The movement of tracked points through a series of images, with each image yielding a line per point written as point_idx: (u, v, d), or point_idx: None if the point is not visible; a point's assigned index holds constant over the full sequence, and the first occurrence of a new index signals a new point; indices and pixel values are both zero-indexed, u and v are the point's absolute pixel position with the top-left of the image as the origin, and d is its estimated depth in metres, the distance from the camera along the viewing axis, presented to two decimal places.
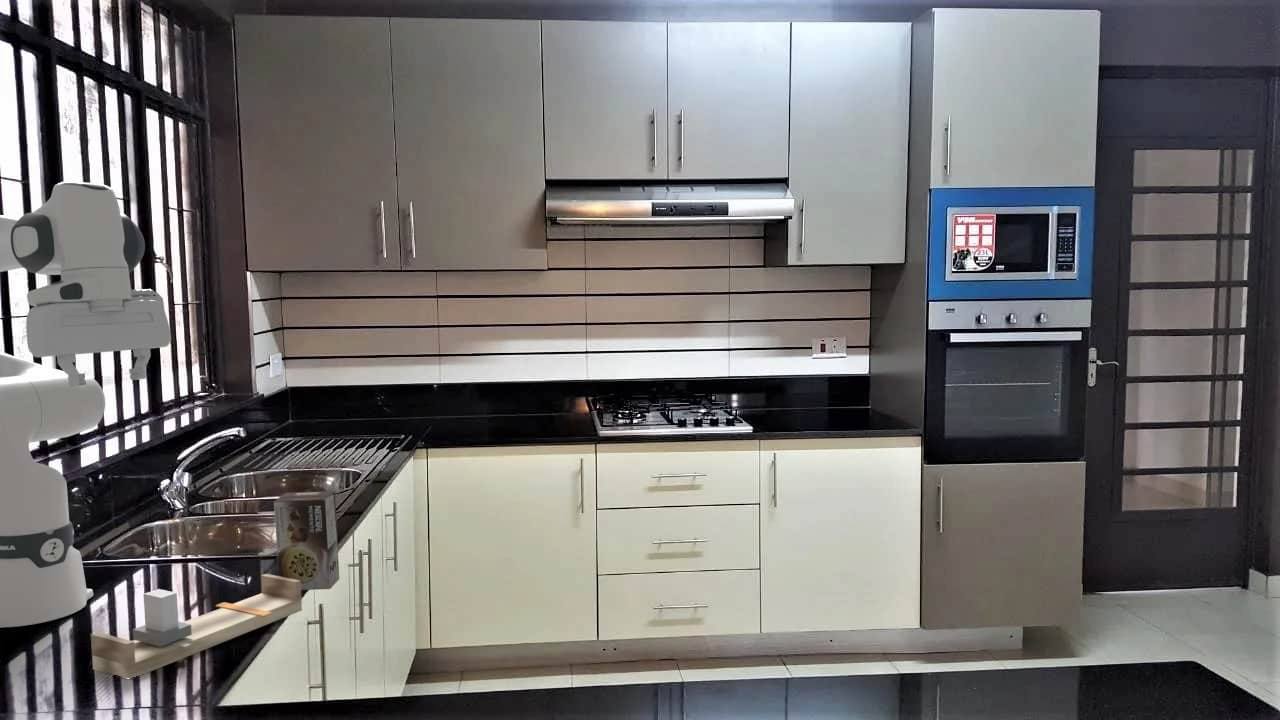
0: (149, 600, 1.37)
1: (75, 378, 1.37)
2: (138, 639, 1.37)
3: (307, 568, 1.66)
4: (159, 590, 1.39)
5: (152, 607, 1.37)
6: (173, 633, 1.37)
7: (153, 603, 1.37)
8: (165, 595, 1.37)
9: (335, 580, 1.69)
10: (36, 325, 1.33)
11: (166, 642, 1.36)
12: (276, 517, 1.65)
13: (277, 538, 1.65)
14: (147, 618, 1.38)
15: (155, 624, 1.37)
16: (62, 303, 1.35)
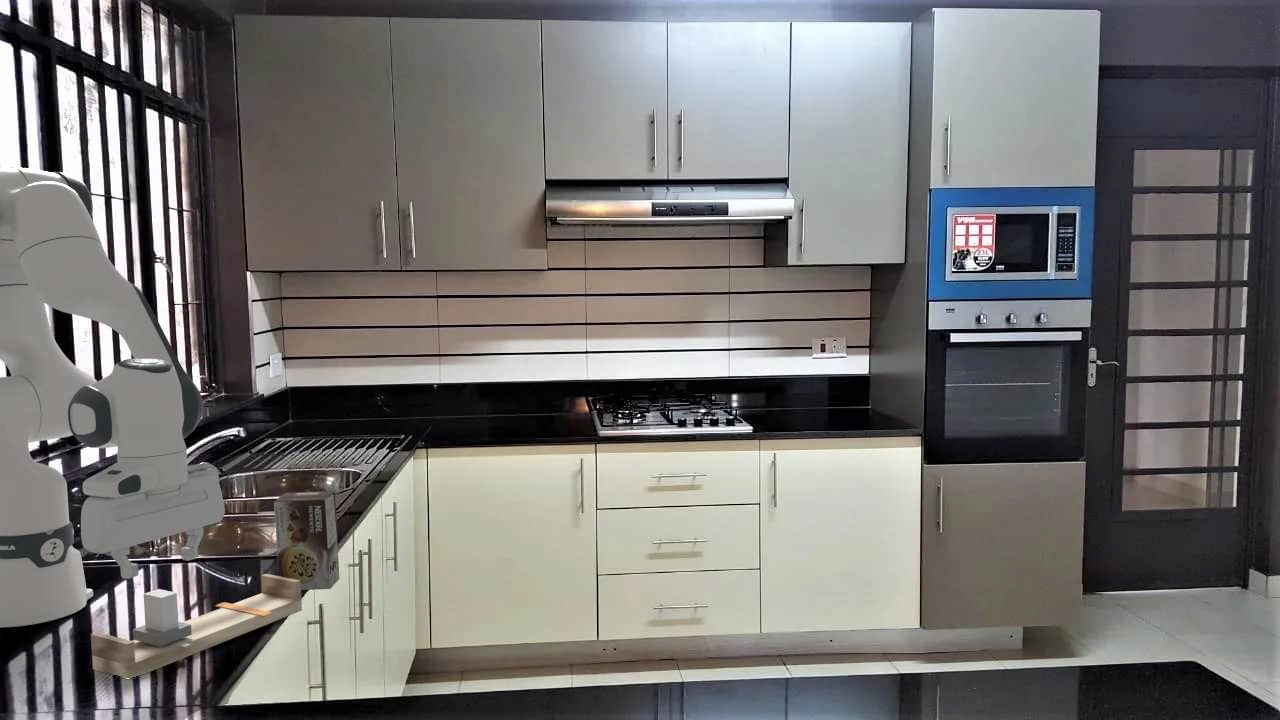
0: (149, 600, 1.37)
1: (128, 571, 1.32)
2: (138, 639, 1.37)
3: (307, 568, 1.66)
4: (159, 590, 1.39)
5: (152, 607, 1.37)
6: (173, 633, 1.37)
7: (153, 603, 1.37)
8: (165, 595, 1.37)
9: (335, 580, 1.69)
10: (92, 521, 1.28)
11: (166, 642, 1.36)
12: (276, 517, 1.65)
13: (277, 538, 1.65)
14: (147, 618, 1.38)
15: (155, 624, 1.37)
16: (119, 498, 1.29)
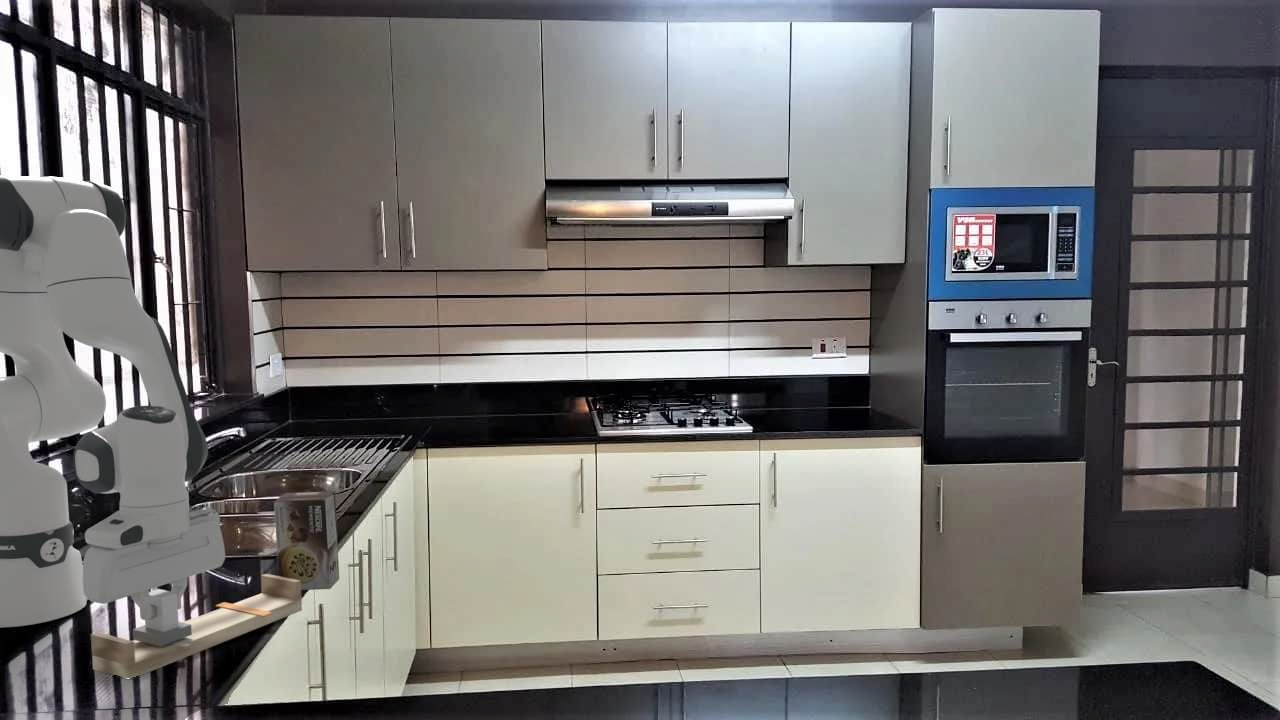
0: (150, 600, 1.37)
1: (147, 613, 1.35)
2: (138, 639, 1.37)
3: (307, 568, 1.66)
4: (159, 590, 1.39)
5: None
6: (173, 633, 1.37)
7: (153, 603, 1.37)
8: (165, 595, 1.37)
9: (335, 580, 1.69)
10: (94, 572, 1.29)
11: (166, 642, 1.36)
12: (276, 517, 1.65)
13: (277, 538, 1.65)
14: None
15: (155, 624, 1.37)
16: (121, 548, 1.30)
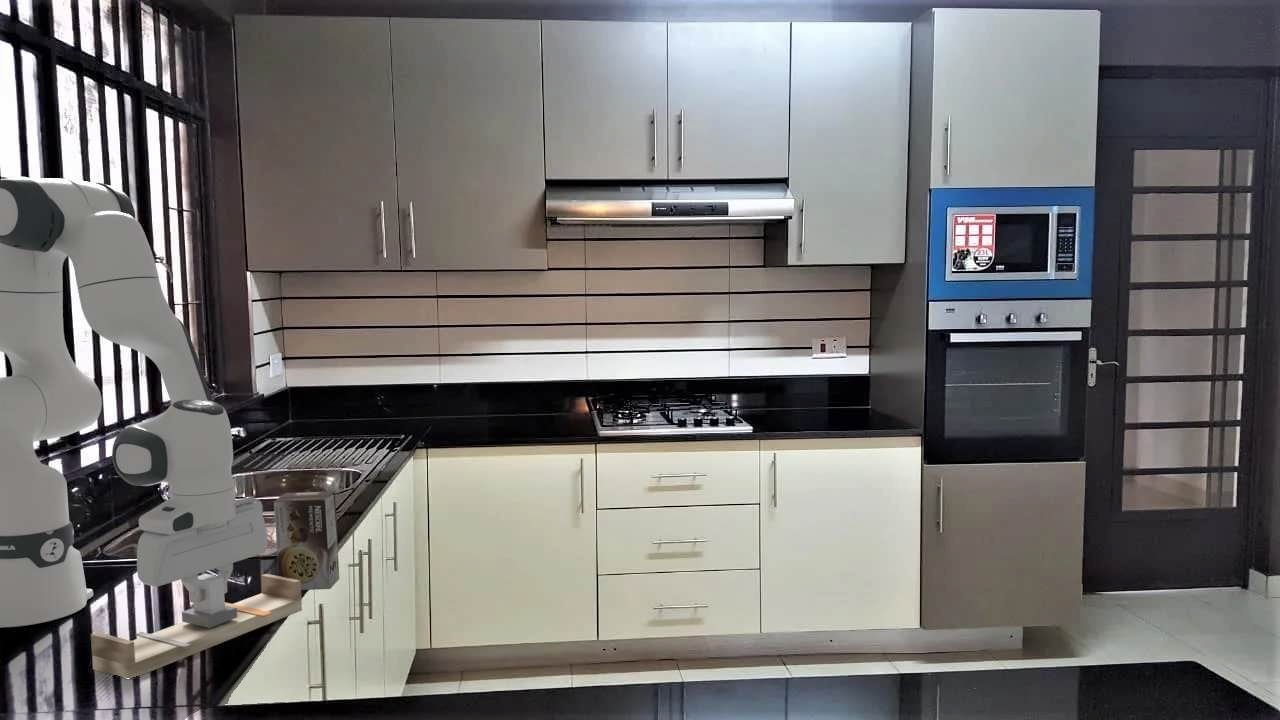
0: (198, 584, 1.44)
1: (196, 596, 1.42)
2: (187, 621, 1.44)
3: (307, 568, 1.66)
4: (206, 574, 1.46)
5: None
6: (220, 615, 1.44)
7: (202, 587, 1.44)
8: (212, 580, 1.44)
9: (335, 580, 1.69)
10: (148, 556, 1.36)
11: (214, 624, 1.43)
12: (276, 517, 1.65)
13: (277, 538, 1.65)
14: None
15: (203, 606, 1.44)
16: (173, 534, 1.37)
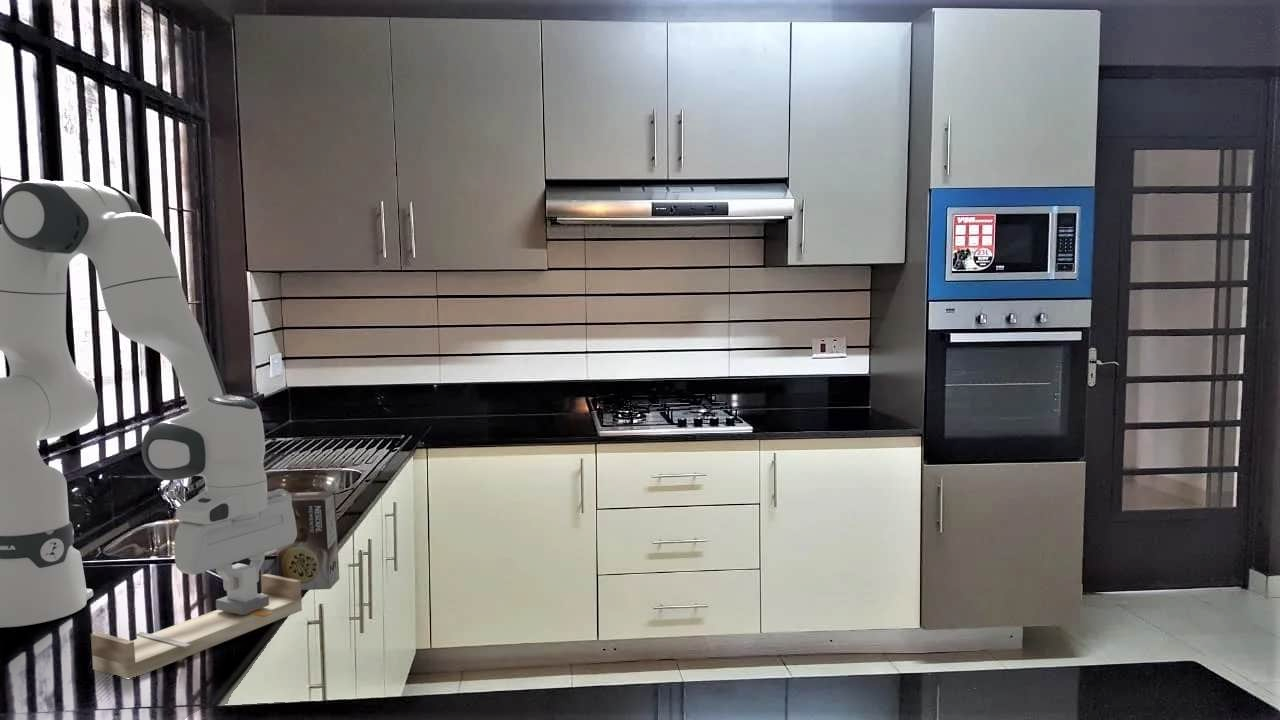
0: (231, 573, 1.49)
1: (230, 584, 1.48)
2: (221, 609, 1.49)
3: (307, 568, 1.66)
4: (239, 564, 1.52)
5: None
6: (253, 603, 1.49)
7: (235, 575, 1.49)
8: (246, 569, 1.49)
9: (335, 580, 1.69)
10: (186, 545, 1.41)
11: (247, 611, 1.48)
12: None
13: None
14: None
15: (236, 595, 1.49)
16: (210, 524, 1.42)
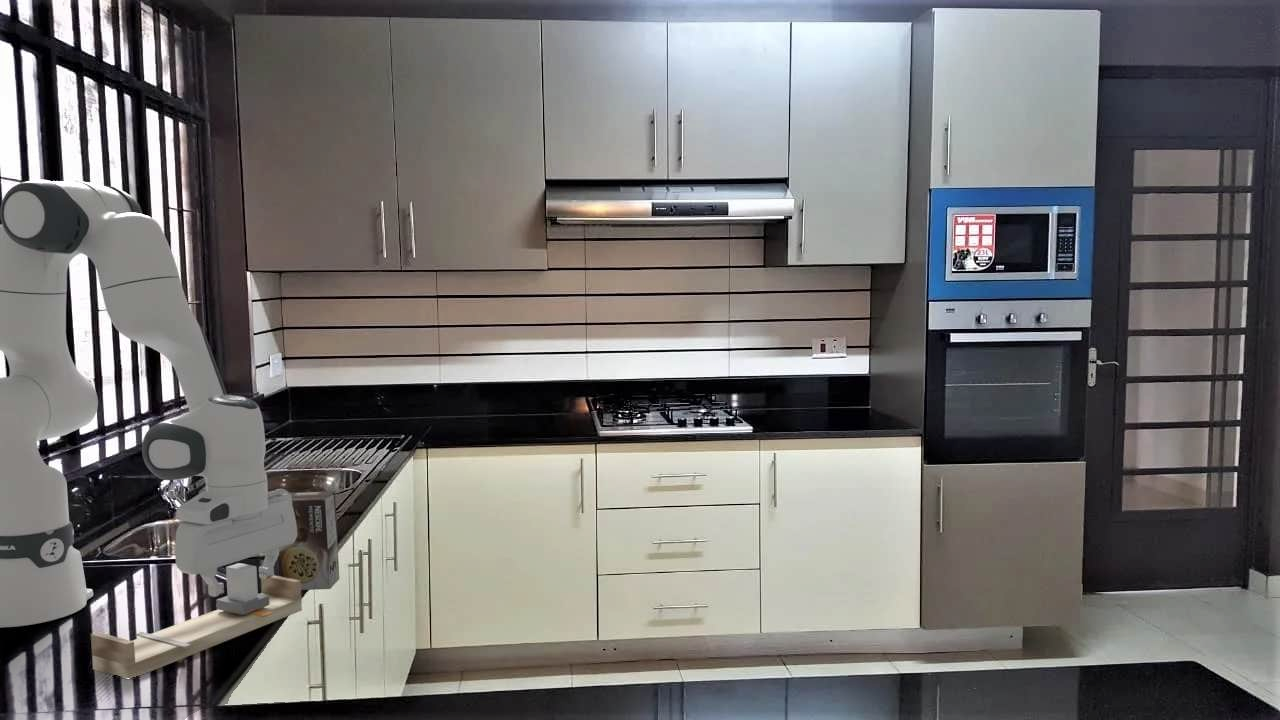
0: (232, 573, 1.50)
1: (215, 590, 1.45)
2: (221, 608, 1.49)
3: (307, 568, 1.66)
4: (239, 564, 1.52)
5: (234, 579, 1.49)
6: (253, 603, 1.49)
7: (236, 575, 1.49)
8: (246, 568, 1.49)
9: (335, 580, 1.69)
10: (186, 545, 1.41)
11: (248, 611, 1.48)
12: None
13: None
14: (230, 589, 1.50)
15: (237, 594, 1.49)
16: (210, 524, 1.42)
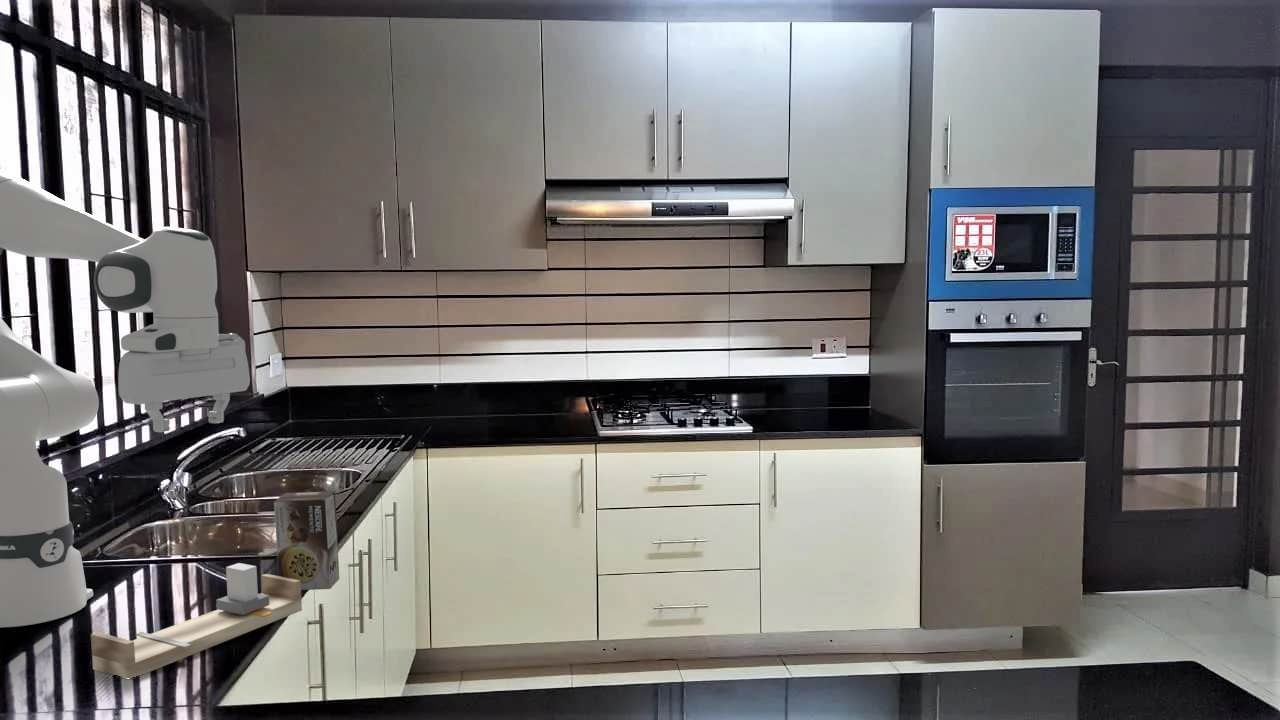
0: (232, 573, 1.50)
1: (160, 425, 1.40)
2: (221, 608, 1.49)
3: (307, 568, 1.66)
4: (239, 564, 1.52)
5: (234, 579, 1.49)
6: (253, 603, 1.49)
7: (236, 575, 1.49)
8: (246, 568, 1.49)
9: (335, 580, 1.69)
10: (130, 373, 1.36)
11: (248, 611, 1.48)
12: (276, 517, 1.65)
13: (277, 538, 1.65)
14: (230, 589, 1.50)
15: (237, 594, 1.49)
16: (156, 353, 1.37)
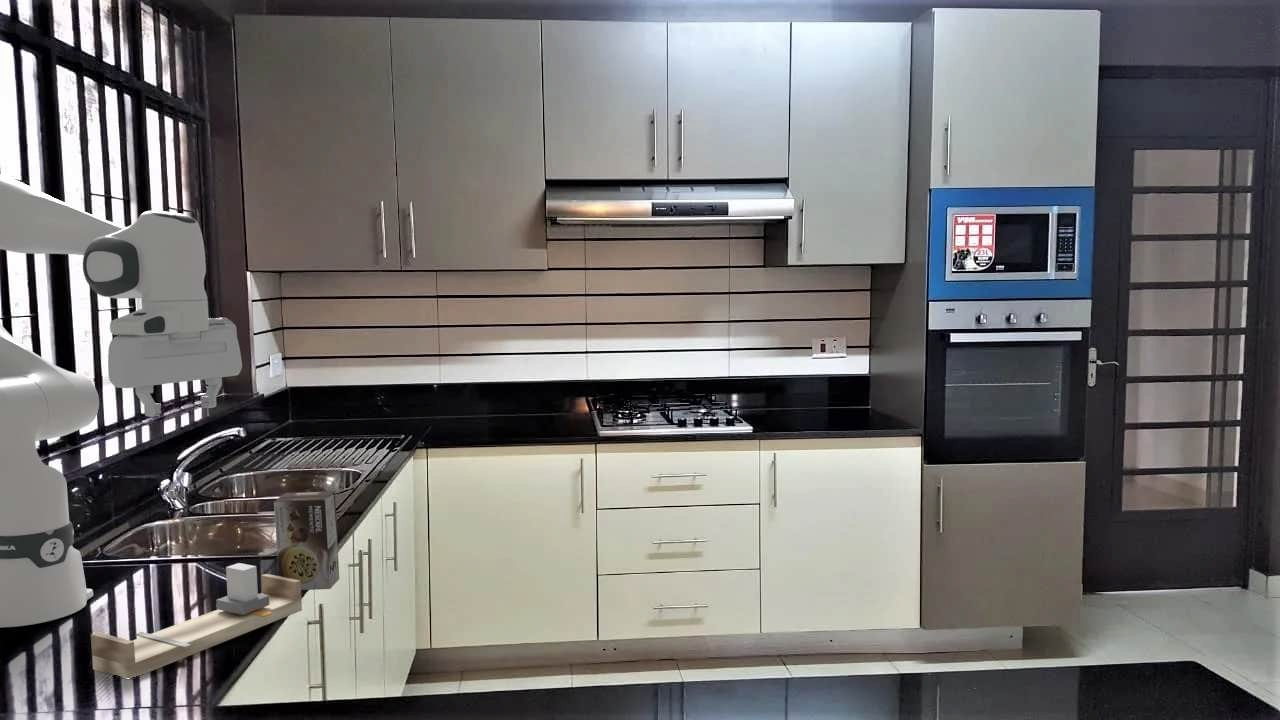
0: (232, 573, 1.50)
1: (151, 409, 1.39)
2: (221, 608, 1.49)
3: (307, 568, 1.66)
4: (239, 564, 1.52)
5: (234, 579, 1.49)
6: (253, 603, 1.49)
7: (236, 575, 1.49)
8: (246, 568, 1.49)
9: (335, 580, 1.69)
10: (119, 357, 1.35)
11: (248, 611, 1.48)
12: (276, 517, 1.65)
13: (277, 538, 1.65)
14: (230, 589, 1.50)
15: (237, 594, 1.49)
16: (145, 336, 1.36)
